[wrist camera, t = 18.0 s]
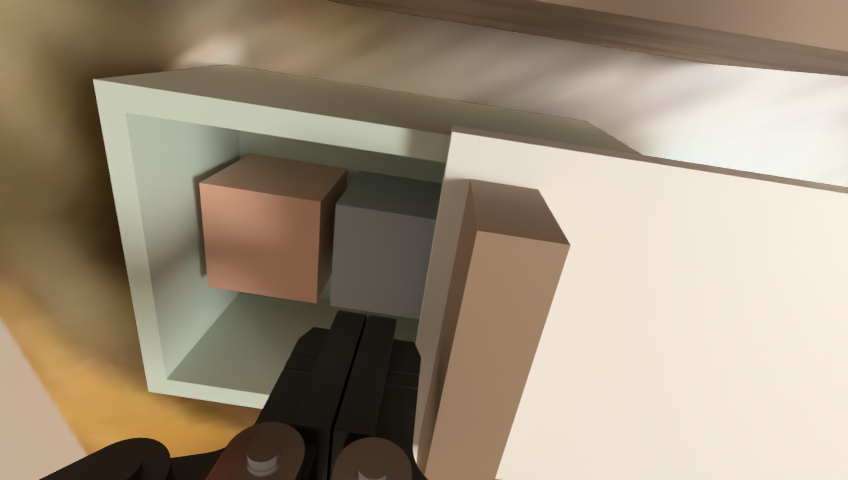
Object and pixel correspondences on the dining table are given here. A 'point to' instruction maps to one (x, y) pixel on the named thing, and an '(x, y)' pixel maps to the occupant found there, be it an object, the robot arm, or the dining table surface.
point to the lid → (630, 319)
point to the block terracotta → (271, 226)
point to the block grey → (383, 244)
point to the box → (223, 146)
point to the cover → (668, 27)
